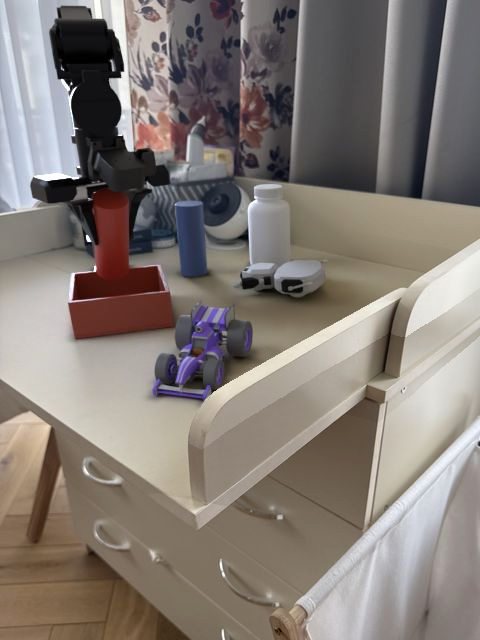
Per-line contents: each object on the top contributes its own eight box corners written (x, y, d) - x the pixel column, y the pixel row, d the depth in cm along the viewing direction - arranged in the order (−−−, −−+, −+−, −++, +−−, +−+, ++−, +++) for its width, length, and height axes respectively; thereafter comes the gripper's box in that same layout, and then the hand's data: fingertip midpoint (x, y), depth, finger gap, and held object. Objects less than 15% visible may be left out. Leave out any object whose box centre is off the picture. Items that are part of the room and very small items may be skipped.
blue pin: (179, 269, 105) (173, 201, 99) (204, 267, 106) (200, 199, 100) (182, 278, 101) (176, 207, 95) (209, 275, 102) (205, 205, 96)
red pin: (93, 261, 85) (88, 189, 76) (125, 257, 87) (124, 187, 77) (99, 282, 82) (95, 210, 73) (132, 278, 84) (132, 208, 75)
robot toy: (229, 302, 91) (316, 306, 87) (226, 277, 90) (315, 279, 85) (253, 279, 102) (331, 280, 97) (250, 255, 100) (331, 256, 95)
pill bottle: (252, 257, 111) (250, 182, 104) (292, 258, 110) (292, 182, 103) (246, 270, 104) (243, 190, 97) (288, 271, 103) (288, 190, 96)
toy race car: (141, 395, 64) (134, 346, 61) (189, 340, 77) (185, 297, 74) (218, 405, 62) (214, 354, 59) (253, 347, 75) (252, 303, 72)
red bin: (77, 305, 89) (71, 273, 87) (163, 295, 93) (160, 264, 90) (74, 339, 78) (67, 302, 76) (173, 326, 81) (170, 291, 79)
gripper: (53, 137, 62) (77, 268, 69) (187, 125, 73) (196, 239, 80) (17, 131, 69) (41, 250, 77) (144, 121, 80) (155, 226, 88)
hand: (112, 241), depth 80 cm, fingers closed on red pin, 5 cm apart
